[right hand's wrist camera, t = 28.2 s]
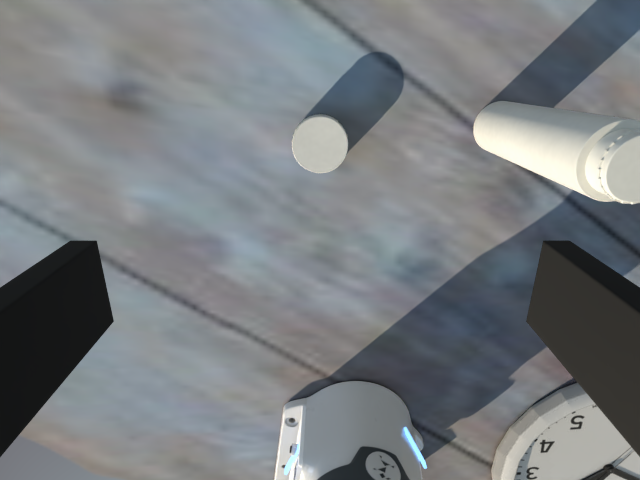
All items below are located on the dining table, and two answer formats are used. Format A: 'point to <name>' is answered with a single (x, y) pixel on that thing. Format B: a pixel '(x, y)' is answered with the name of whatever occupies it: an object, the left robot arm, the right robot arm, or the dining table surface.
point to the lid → (320, 143)
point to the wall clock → (565, 443)
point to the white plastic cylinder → (566, 147)
